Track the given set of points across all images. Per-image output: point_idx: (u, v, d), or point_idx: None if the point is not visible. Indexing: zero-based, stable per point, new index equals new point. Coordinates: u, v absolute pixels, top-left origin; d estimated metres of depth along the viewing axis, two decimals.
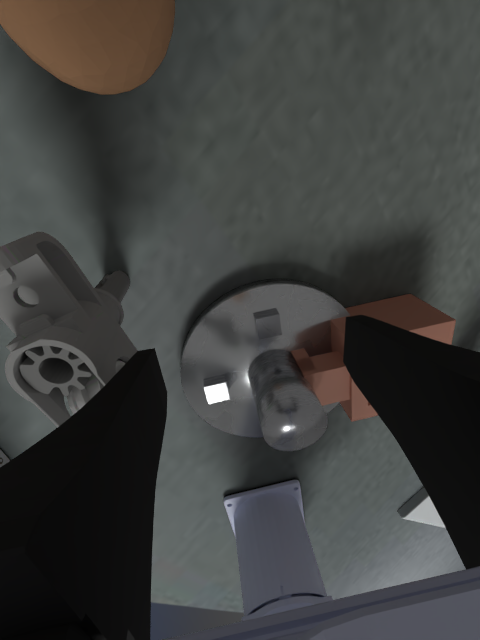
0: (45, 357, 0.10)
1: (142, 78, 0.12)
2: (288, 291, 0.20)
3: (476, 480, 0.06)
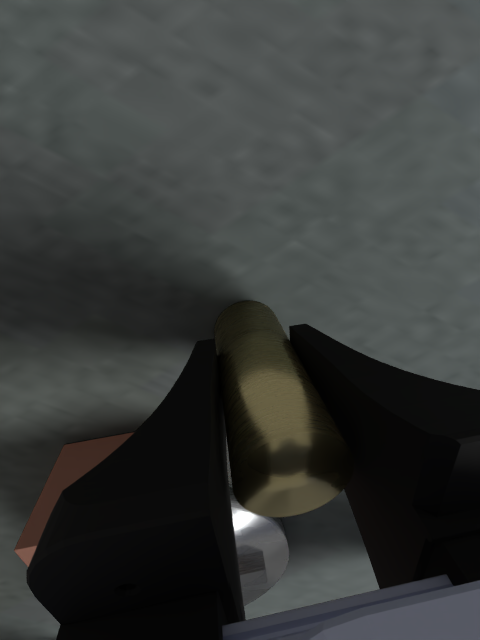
0: None
1: None
2: None
3: (380, 500, 0.06)
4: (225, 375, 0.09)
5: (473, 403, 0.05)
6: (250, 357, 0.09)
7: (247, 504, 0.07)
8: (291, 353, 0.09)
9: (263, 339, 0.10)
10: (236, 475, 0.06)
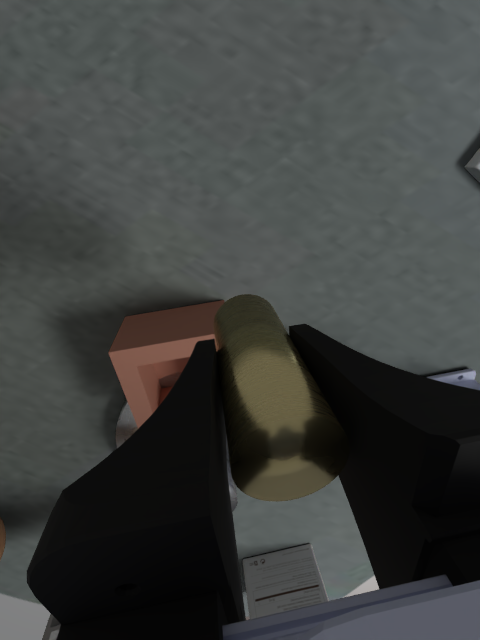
0: None
1: None
2: (121, 437, 0.23)
3: (379, 500, 0.06)
4: (224, 363, 0.09)
5: (472, 403, 0.05)
6: (250, 346, 0.09)
7: (243, 486, 0.07)
8: (290, 344, 0.09)
9: (263, 329, 0.10)
10: (234, 456, 0.07)
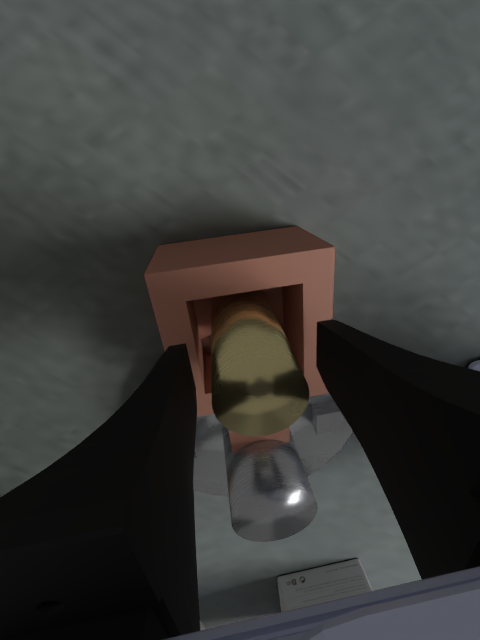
0: None
1: None
2: None
3: (427, 491, 0.06)
4: (216, 327, 0.11)
5: None
6: (239, 313, 0.11)
7: (221, 418, 0.09)
8: (273, 316, 0.11)
9: (252, 302, 0.11)
10: (215, 388, 0.08)
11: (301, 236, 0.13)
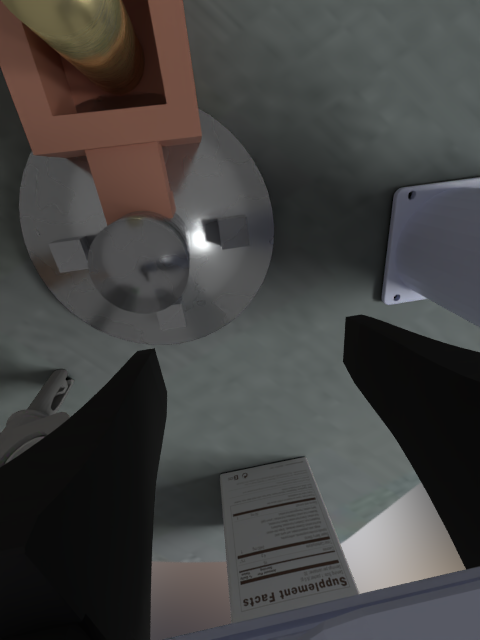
0: None
1: None
2: (29, 223, 0.16)
3: (476, 480, 0.06)
4: None
5: None
6: None
7: None
8: None
9: None
10: None
11: None
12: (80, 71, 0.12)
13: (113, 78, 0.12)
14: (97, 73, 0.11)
